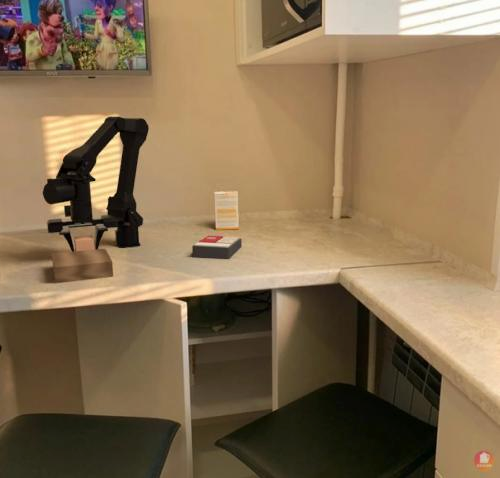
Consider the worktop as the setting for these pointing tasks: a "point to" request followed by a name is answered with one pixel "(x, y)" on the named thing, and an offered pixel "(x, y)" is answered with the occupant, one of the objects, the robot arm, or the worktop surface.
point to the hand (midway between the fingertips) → (85, 253)
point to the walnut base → (82, 265)
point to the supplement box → (226, 210)
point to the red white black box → (216, 247)
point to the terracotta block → (84, 243)
